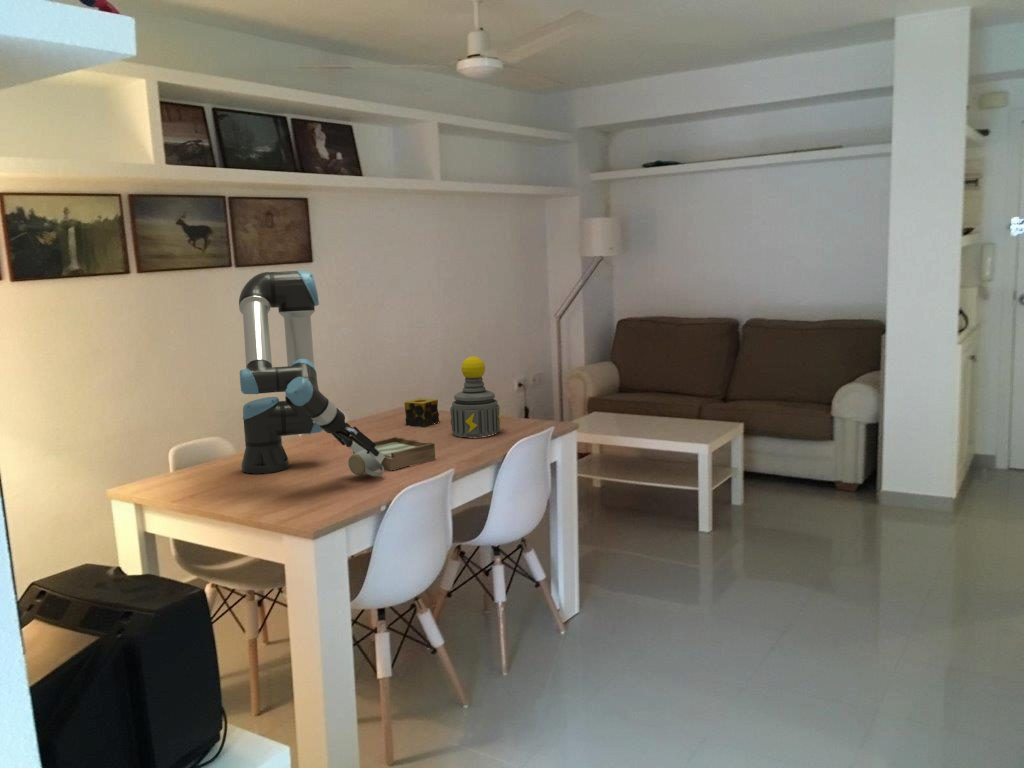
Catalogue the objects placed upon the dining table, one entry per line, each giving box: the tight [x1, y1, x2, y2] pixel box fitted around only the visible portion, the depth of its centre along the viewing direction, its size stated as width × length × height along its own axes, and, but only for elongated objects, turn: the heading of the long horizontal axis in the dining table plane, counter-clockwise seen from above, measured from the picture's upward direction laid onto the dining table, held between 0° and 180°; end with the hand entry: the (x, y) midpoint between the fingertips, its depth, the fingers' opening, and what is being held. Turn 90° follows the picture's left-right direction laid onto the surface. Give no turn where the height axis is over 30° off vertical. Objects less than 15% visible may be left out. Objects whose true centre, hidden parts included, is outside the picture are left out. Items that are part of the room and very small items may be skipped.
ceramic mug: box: [347, 449, 385, 477], centre depth 263 cm, size 11×8×8 cm
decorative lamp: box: [449, 355, 501, 438], centre depth 322 cm, size 19×19×30 cm
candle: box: [404, 398, 440, 428], centre depth 346 cm, size 10×10×10 cm
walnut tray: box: [352, 436, 436, 472], centre depth 284 cm, size 20×19×6 cm
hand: (373, 457), depth 266 cm, fingers closed on ceramic mug, 8 cm apart
